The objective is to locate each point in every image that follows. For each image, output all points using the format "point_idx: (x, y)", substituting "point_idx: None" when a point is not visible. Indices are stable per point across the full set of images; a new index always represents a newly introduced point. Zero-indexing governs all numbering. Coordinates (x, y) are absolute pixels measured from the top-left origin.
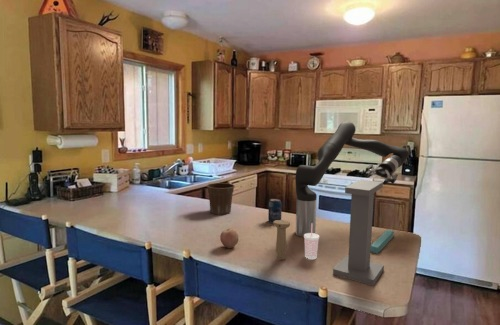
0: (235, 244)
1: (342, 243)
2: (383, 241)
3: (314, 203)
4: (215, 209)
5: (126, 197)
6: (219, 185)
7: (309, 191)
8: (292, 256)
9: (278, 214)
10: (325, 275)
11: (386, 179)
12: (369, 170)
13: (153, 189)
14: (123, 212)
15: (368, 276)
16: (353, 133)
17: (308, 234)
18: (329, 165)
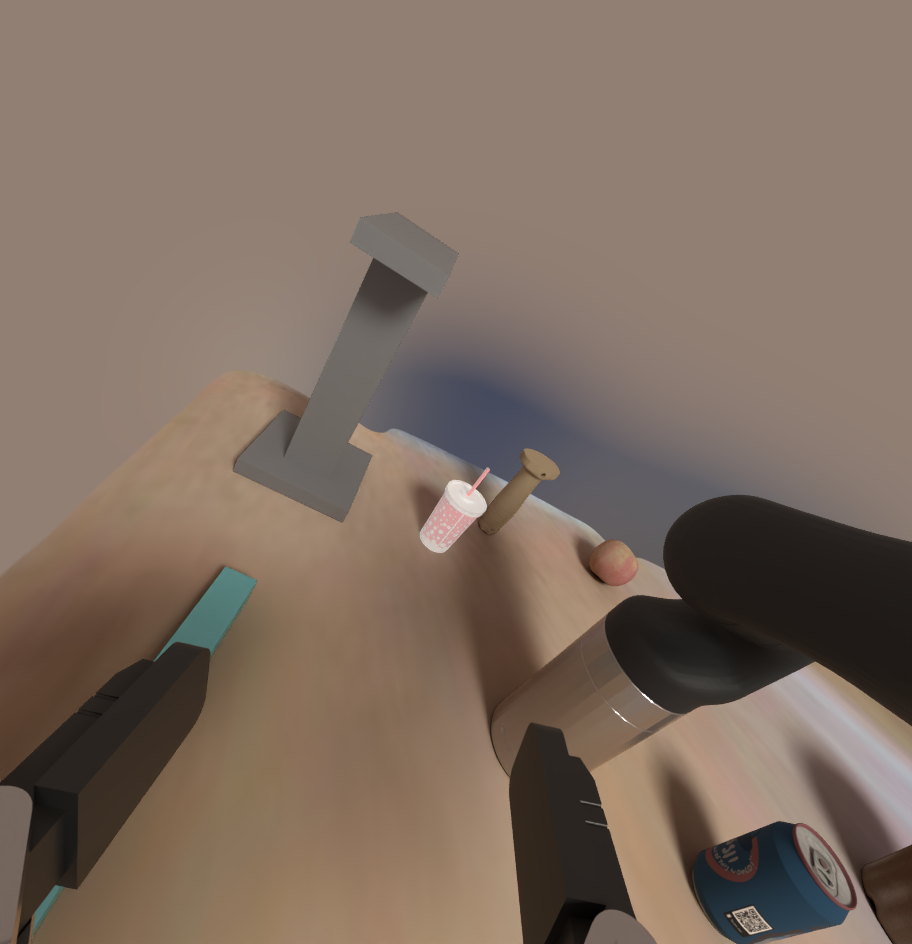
0: (590, 562)
1: (365, 668)
2: (164, 648)
3: (594, 637)
4: (885, 856)
5: None
6: None
7: (669, 626)
8: (472, 541)
9: (725, 857)
10: (380, 463)
11: (143, 690)
12: (622, 928)
13: None
14: (902, 748)
15: (293, 421)
16: None
17: (477, 505)
18: (887, 659)
